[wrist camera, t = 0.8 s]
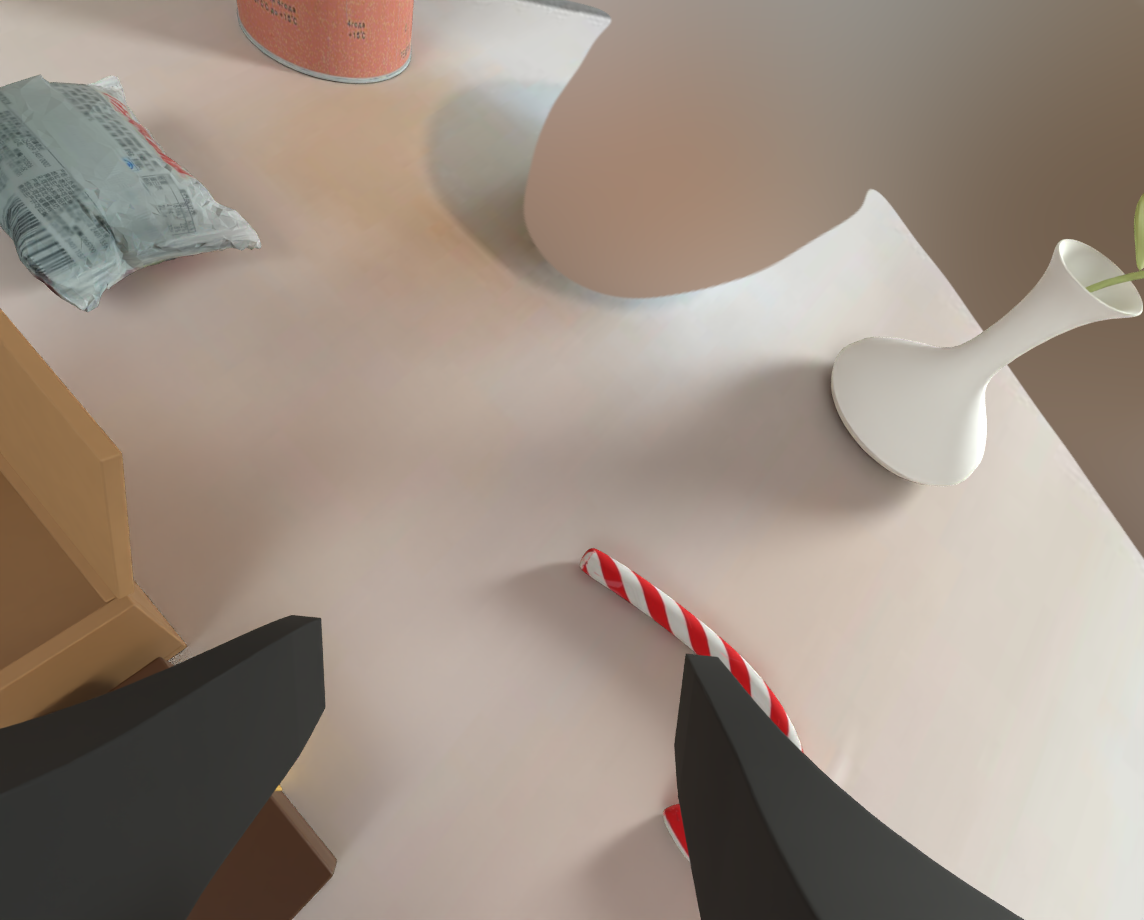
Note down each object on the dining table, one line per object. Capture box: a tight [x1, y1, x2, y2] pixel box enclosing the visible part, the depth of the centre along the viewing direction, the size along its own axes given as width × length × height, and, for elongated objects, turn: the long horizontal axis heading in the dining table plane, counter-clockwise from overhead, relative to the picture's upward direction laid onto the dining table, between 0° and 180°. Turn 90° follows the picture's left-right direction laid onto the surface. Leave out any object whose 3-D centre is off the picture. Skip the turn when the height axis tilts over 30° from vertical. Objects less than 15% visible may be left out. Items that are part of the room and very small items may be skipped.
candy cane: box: [580, 548, 803, 862], centre depth 25 cm, size 8×1×15 cm
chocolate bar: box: [107, 657, 337, 920], centre depth 18 cm, size 8×4×4 cm, turn 47°
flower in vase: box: [831, 194, 1144, 486], centre depth 29 cm, size 13×11×25 cm
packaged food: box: [0, 75, 261, 312], centre depth 26 cm, size 9×12×5 cm
